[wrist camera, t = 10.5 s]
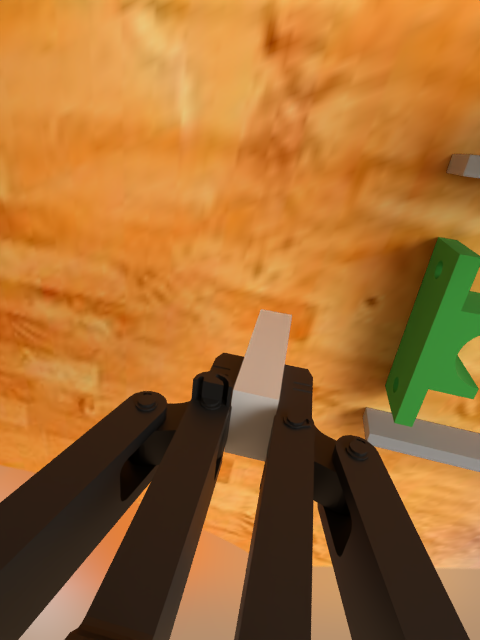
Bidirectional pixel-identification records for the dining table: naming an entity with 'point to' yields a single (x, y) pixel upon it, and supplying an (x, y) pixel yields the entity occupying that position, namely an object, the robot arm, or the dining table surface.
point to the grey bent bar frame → (424, 435)
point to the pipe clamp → (437, 333)
